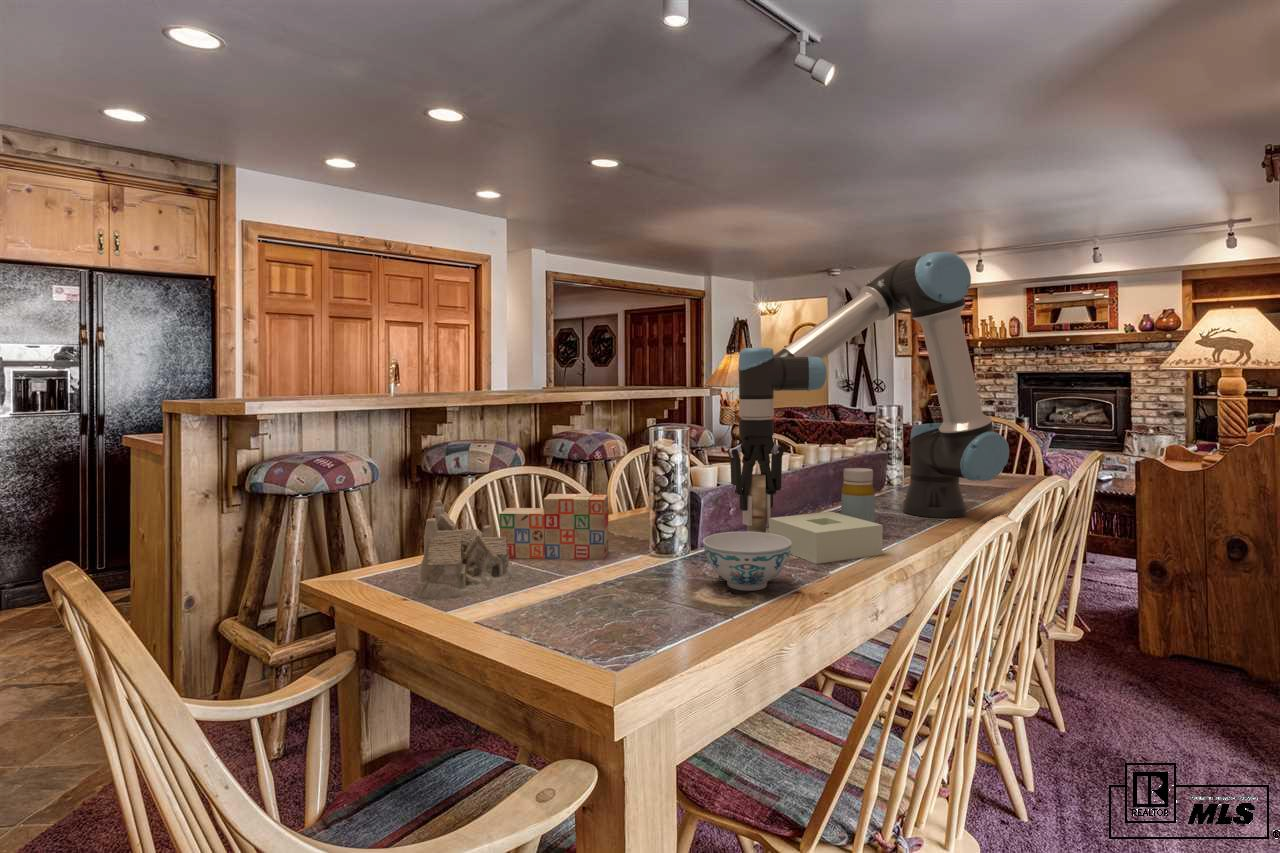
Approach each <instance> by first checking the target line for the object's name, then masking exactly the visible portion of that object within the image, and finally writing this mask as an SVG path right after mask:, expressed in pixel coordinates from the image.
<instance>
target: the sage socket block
mask: <svg viewBox="0 0 1280 853" xmlns="http://www.w3.org/2000/svg"><path fill="white" fill-rule="evenodd" d="M883 528H884V526H883V524H880V523H877V522H875V523H873V522H870V521H866V520H862V519H858V518H854V517H850V516H846V515H843V514H841V513H838V512H834V511H824V512H814V513H803V514H795V515H787V516H786V515H785V516H778V517H776V516H775V517H770V518H769V524H768V533H770V534H776V535H780V536H783V537H786V538H788V539H789V540H791V542H792V544H791V550H790V553H789V555H791V554H792V555H791V556H794V557H796V556H797V558H799V557H800V558H799V559H802V560H804V559H805V561H807V562H811V563H812V564H816V565H818V564H825V563H831V562H839V561H847V560H854V559H862V558H867V557H876V556H882V555H883V535H884V534H883Z"/></svg>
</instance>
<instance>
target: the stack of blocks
mask: <svg viewBox="0 0 1280 853" xmlns="http://www.w3.org/2000/svg"><path fill="white" fill-rule="evenodd" d="M608 500H609V495H608V494H593V493H549V494H548V495H546V497H544V498H543V508H541V507H540V508H539V507H537V508H535V507H521V508H520V507H507V508H505V509H503V510H502V512H499V516H498V517H499V520H498V522H499V537H506V540H507V550H508V552H509V554H508V555H509V559H537V560H538V559H539V560H540V559H541V560H543V559H548V560H550V559H552V560H555V559H556V560H558V559H559V560H563V559H564V560H605V559H606V557H607V555H608V553H609V508H608V507H609V501H608Z"/></svg>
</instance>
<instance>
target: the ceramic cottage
mask: <svg viewBox="0 0 1280 853" xmlns="http://www.w3.org/2000/svg"><path fill="white" fill-rule="evenodd" d="M434 516H435V517H433V518H427V519H426V520H425V523H426V524H425V532H424V535H423V547H424V548H423V558H422V561H421V562H420V571H419V573H418V574H417V575H416V586H415V591H414V592H415V593H414V594H415V596H416V597H418V598H421V599H426V600H427V599H428V600H434V599H435V600H437V599H450V598H452V599H453V598H456V597H457V598H459V597H464V596H467V595H470V594H474V593H477V592H482V591H485V590H488V589H491V588H495V587H497V586H501V585H504V584H506V583H509V581H511V574H510V572H509V568H508V567H509V563H510V558H509V555H508V554H509V552H508V550H507V540H506V537H500V536H498V537H494V536H493V537H492V531H491V530H492V529H491V528H492V527H491V525H488V524H486V525H483V531H480V529H479V528H466V529H459V527H458V524H455V522H454V521H453V520H452V519H451V518H450V516H449V514H448V513H447V512H445V507H444V505H443V503H442V500H436V501H435V502H434Z"/></svg>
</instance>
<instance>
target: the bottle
mask: <svg viewBox="0 0 1280 853" xmlns="http://www.w3.org/2000/svg"><path fill="white" fill-rule="evenodd" d="M873 480H874V470H873V468H872V469H871V468H865V467H848V468H847V467H846V468H844V469H843V485H842V487H841V493H840V494H841V498H840V499H841V503H840V505H841V507H840V509H841V510H840V514H843V515H846V516H850V517H854V518H858V519H862V520H866V521H870V522H873V523H876V522H875V521H876V520H875V518H876V516H875V515H876V514H875V510H876V509H875V508H876V507H875V506H876V505H875V504H876V502H875V501H876V500H875V498H876V492H875V488H874V485H873Z"/></svg>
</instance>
